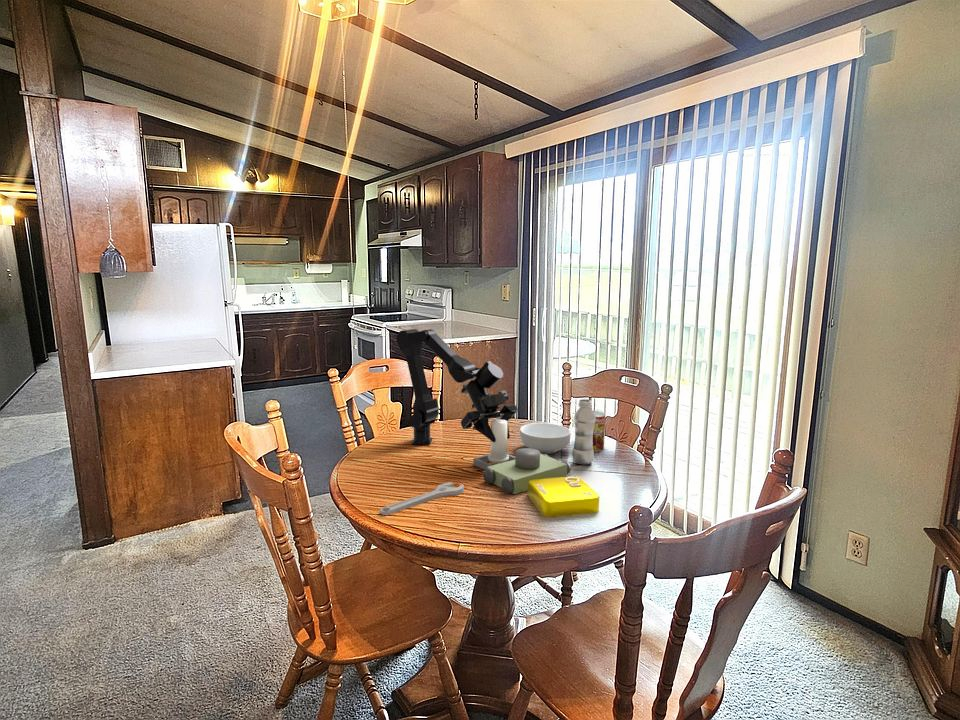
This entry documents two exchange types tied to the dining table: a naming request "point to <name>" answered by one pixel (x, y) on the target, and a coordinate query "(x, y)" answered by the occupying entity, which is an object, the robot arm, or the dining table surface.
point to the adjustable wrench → (424, 498)
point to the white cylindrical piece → (499, 442)
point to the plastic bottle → (584, 433)
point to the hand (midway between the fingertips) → (501, 439)
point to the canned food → (599, 431)
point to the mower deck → (521, 469)
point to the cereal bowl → (545, 437)
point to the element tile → (563, 496)
